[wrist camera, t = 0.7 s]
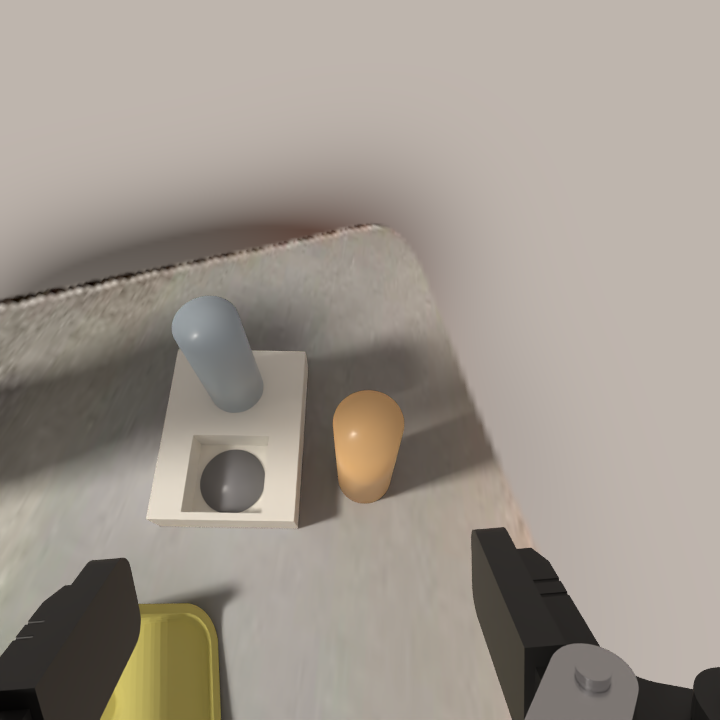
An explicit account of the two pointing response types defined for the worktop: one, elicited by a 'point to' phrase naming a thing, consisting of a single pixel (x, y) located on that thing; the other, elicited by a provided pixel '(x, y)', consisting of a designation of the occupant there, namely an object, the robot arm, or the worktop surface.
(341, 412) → the tan round-top capsule
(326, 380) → the worktop surface
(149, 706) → the plastic component
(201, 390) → the housing
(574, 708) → the robot arm
